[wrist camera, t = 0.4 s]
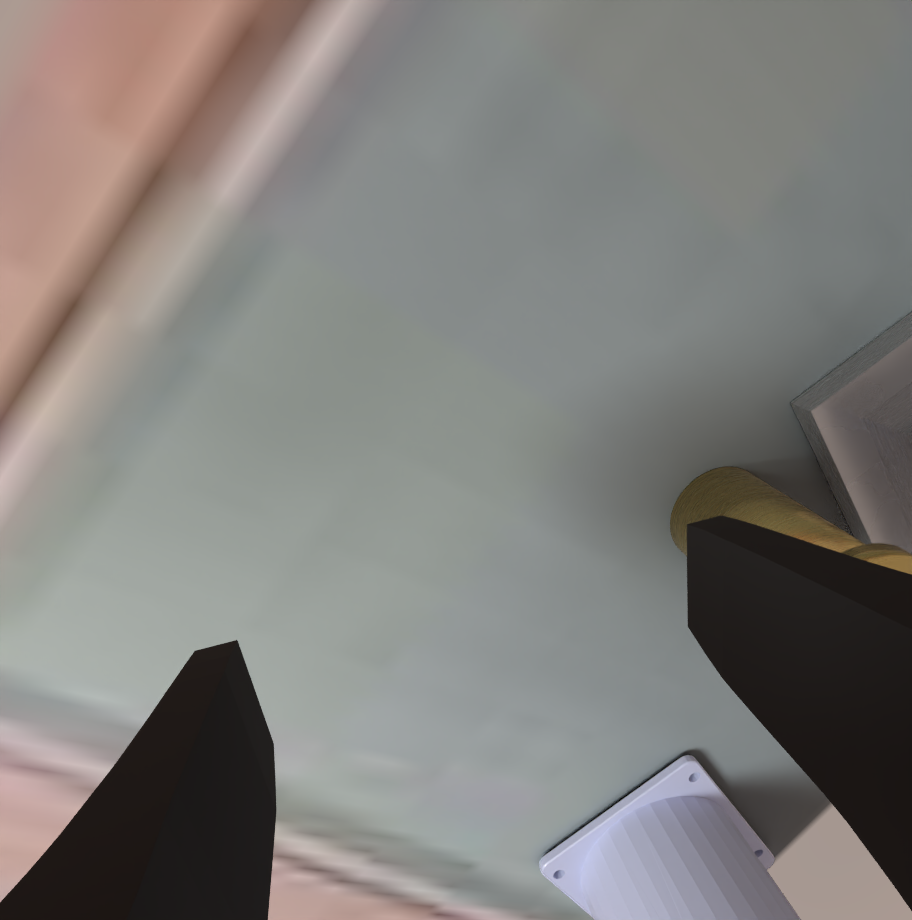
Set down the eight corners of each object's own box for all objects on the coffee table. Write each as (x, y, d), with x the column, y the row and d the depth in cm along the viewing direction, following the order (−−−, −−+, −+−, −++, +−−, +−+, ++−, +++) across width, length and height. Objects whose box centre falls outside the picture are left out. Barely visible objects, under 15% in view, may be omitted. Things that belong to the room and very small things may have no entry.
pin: (789, 518, 24) (966, 633, 18) (692, 589, 24) (831, 729, 18) (744, 430, 22) (922, 525, 16) (638, 509, 22) (772, 633, 16)
